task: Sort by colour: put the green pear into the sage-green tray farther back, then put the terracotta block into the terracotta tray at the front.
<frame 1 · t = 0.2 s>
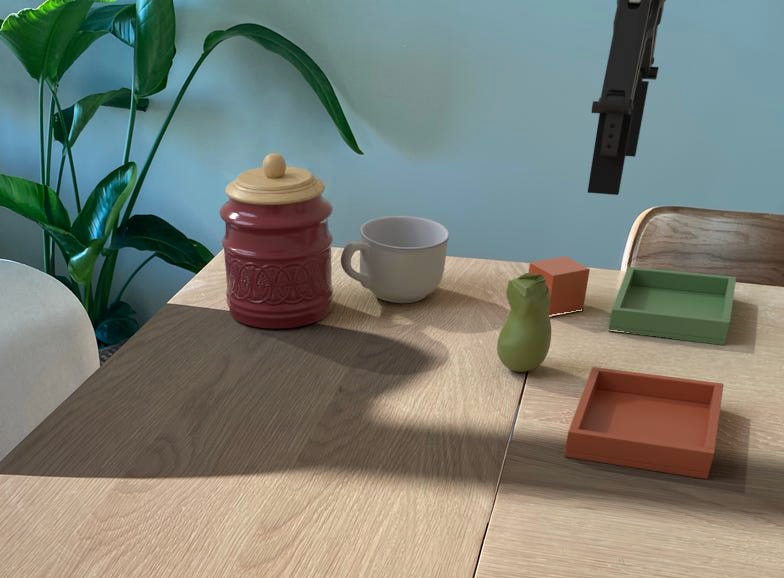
hand: (612, 173, 93), 19 cm above the table, tool pointing down, fingers open, 13 cm apart
teacup: (390, 298, 122), on the table
terracotta tray: (643, 431, 93), on the table
pear: (519, 370, 105), on the table
block: (553, 307, 118), on the table
kitchen canister: (280, 311, 119), on the table
green tray: (671, 314, 115), on the table
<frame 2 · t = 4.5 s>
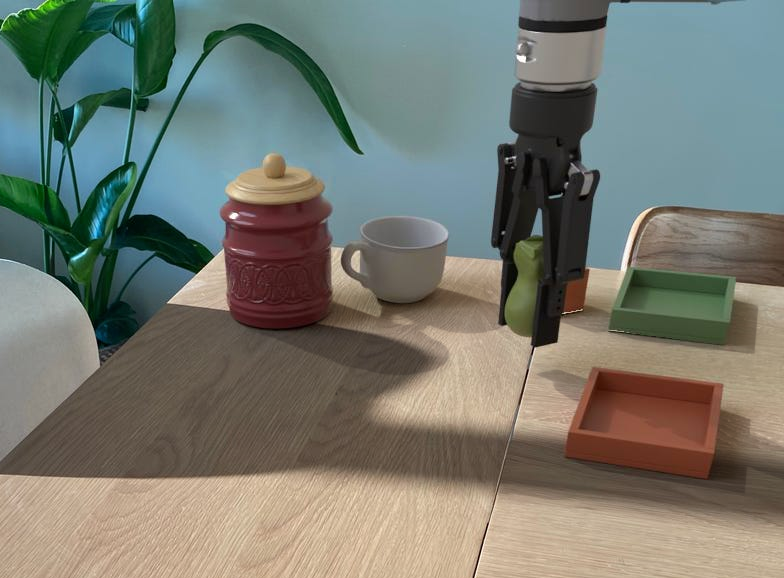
hand: (527, 332, 102), 4 cm above the table, tool pointing down, fingers closed on pear, 6 cm apart
pear: (528, 336, 102), point 4 cm above the table, touching gripper
everything else where it was.
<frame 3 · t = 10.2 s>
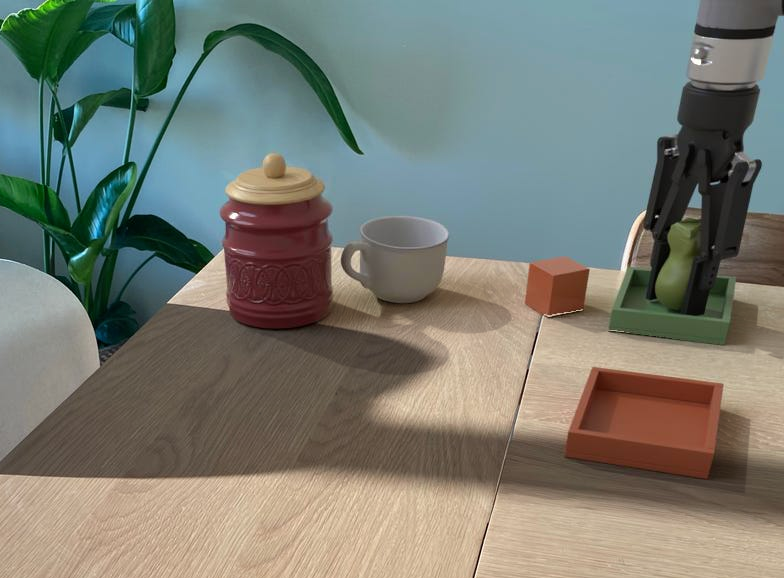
hand: (674, 305, 114), 1 cm above the table, tool pointing down, fingers closed on pear, 6 cm apart
pear: (674, 309, 115), point 1 cm above the table, touching gripper
everything else where it was.
when the fingers open (2 cm above the table, at t = 15.3 s): pear drops 1 cm, resting on green tray.
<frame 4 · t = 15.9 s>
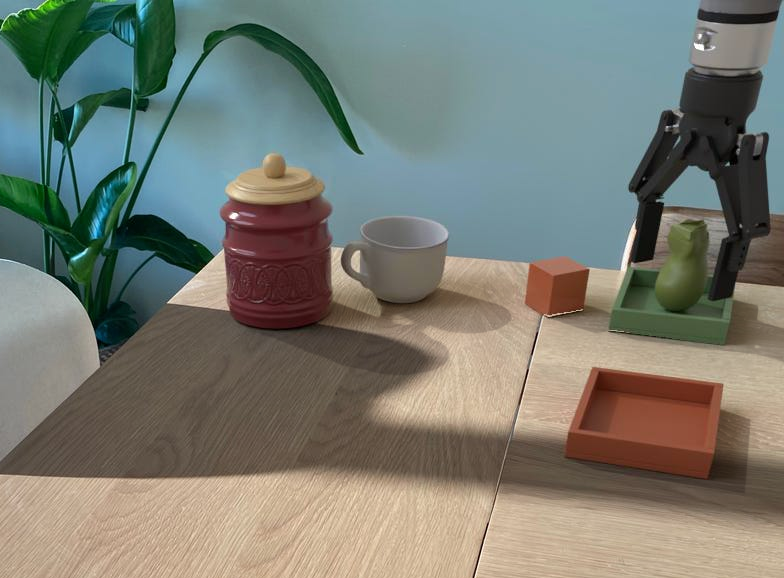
hand: (679, 279, 112), 4 cm above the table, tool pointing down, fingers open, 13 cm apart
pear: (674, 310, 115), resting on green tray
everything else where it was.
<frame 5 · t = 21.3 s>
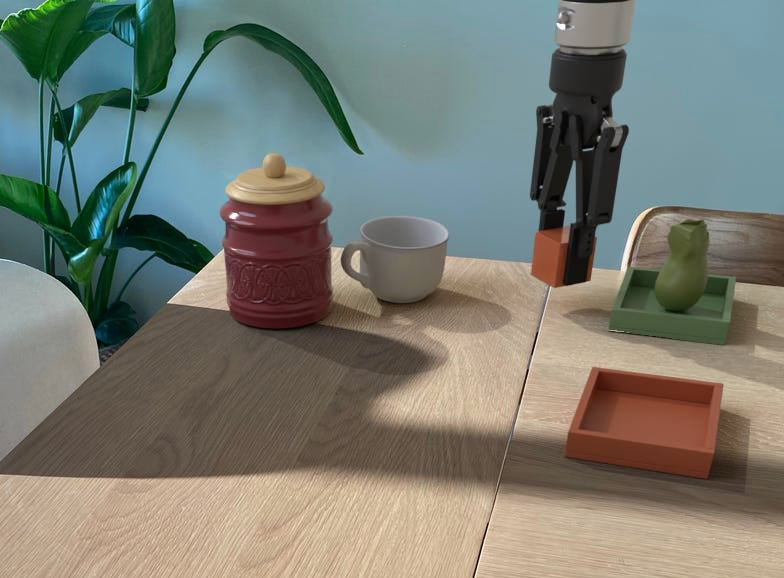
hand: (560, 275, 115), 4 cm above the table, tool pointing down, fingers closed on block, 5 cm apart
block: (560, 278, 115), point 4 cm above the table, touching gripper
everything else where it was.
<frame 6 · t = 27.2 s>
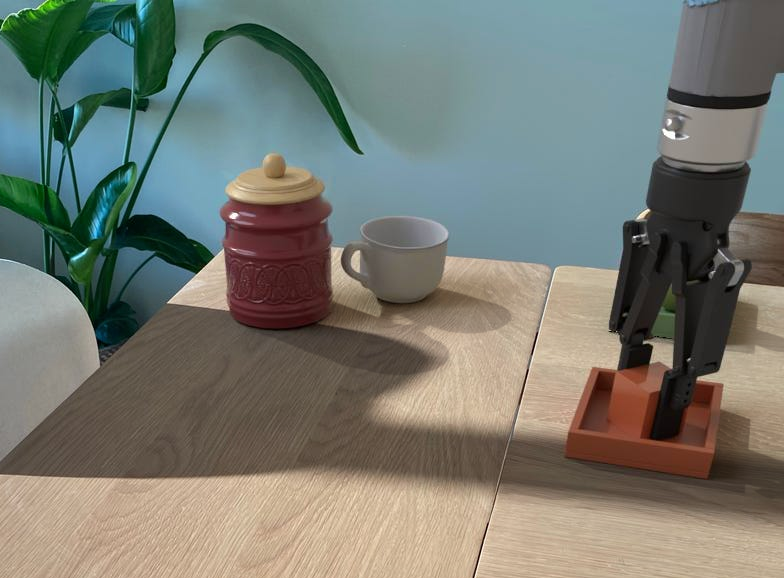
hand: (644, 422, 93), 1 cm above the table, tool pointing down, fingers closed on block, 5 cm apart
block: (644, 425, 93), point 1 cm above the table, touching gripper, terracotta tray
everything else where it was.
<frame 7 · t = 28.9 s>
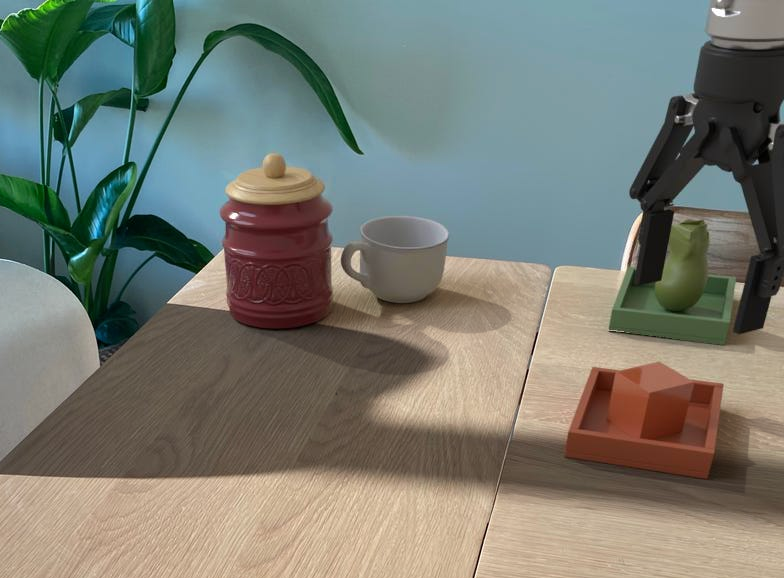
hand: (694, 305, 91), 10 cm above the table, tool pointing down, fingers open, 13 cm apart
block: (643, 425, 93), point 1 cm above the table, touching terracotta tray
everything else where it was.
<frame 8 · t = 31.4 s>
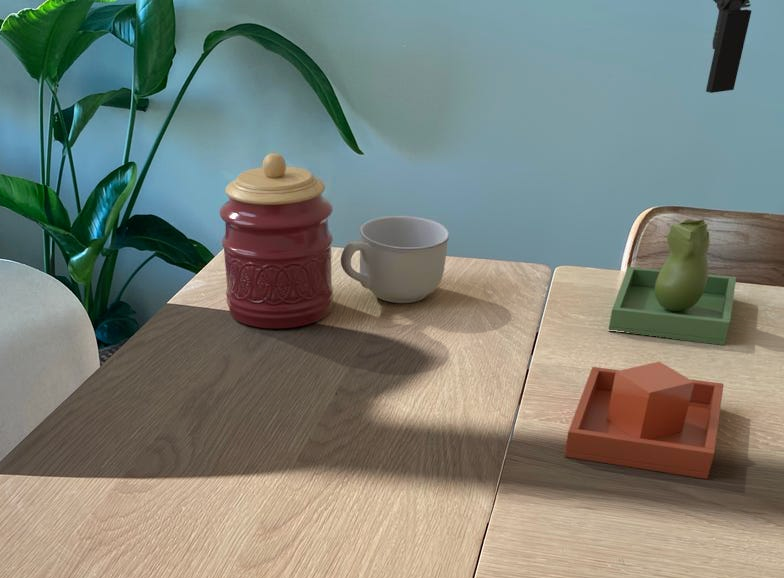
hand: (770, 104, 89), 25 cm above the table, tool pointing down, fingers open, 13 cm apart
nothing on the table moved.
at the end: pear inside the target area in the green tray (0.2 cm from its centre), point 0.4 cm above the green tray's base; block inside the target area in the terracotta tray (0.0 cm from its centre), point 0.6 cm above the terracotta tray's base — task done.
